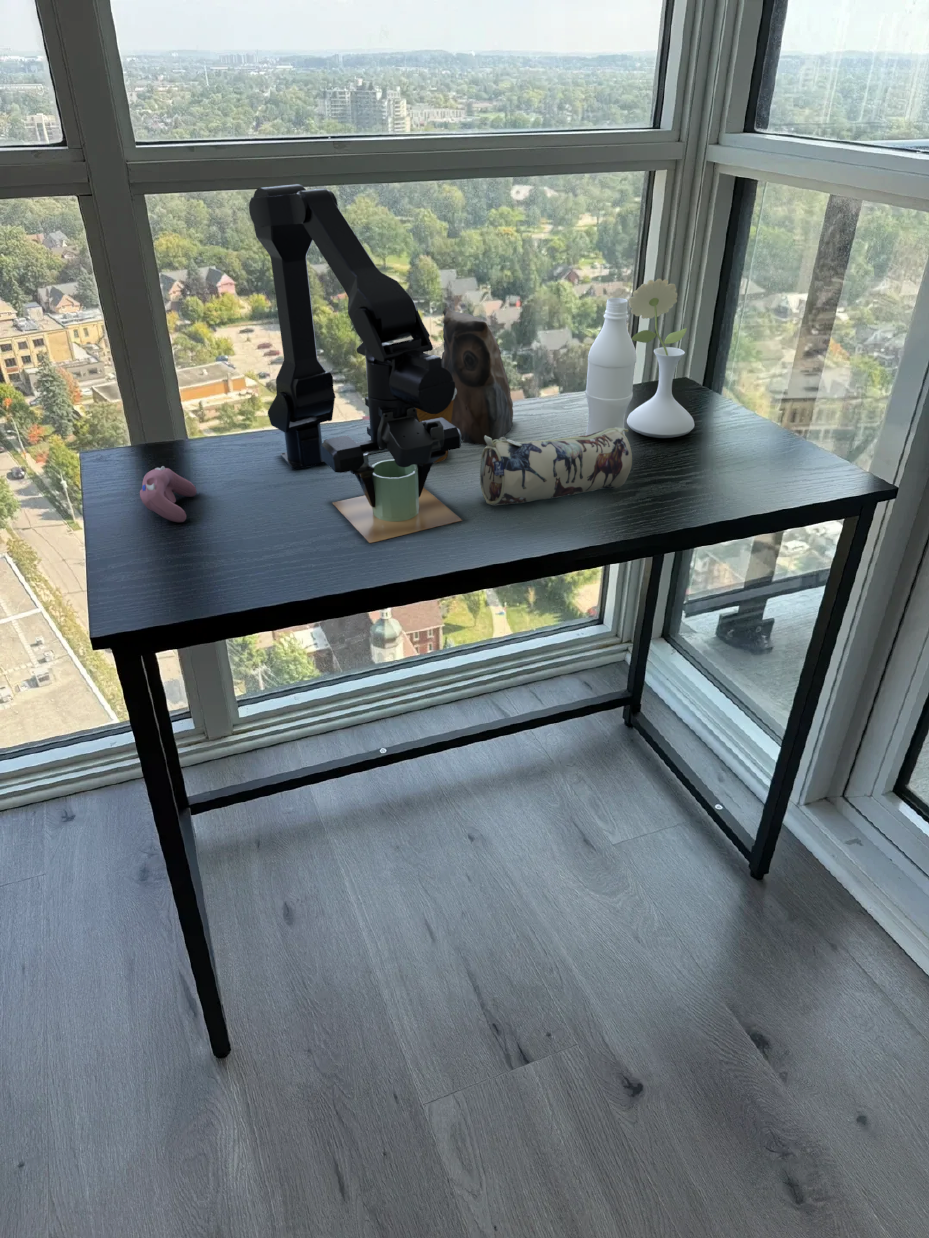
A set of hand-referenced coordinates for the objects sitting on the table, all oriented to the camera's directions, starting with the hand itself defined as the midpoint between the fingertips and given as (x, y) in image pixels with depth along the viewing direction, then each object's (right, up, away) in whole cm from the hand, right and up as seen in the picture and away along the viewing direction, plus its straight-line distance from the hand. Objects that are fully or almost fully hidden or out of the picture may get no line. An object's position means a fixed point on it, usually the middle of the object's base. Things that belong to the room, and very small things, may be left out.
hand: (395, 501), depth 122 cm
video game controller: (-32, -1, +2) cm, 32 cm away
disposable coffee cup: (+4, +10, +18) cm, 21 cm away
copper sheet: (0, -1, +1) cm, 2 cm away
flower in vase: (+43, +15, +27) cm, 52 cm away
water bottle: (+32, +8, +15) cm, 36 cm away
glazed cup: (0, -1, +1) cm, 2 cm away
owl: (+13, +15, +27) cm, 33 cm away
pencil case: (+23, +2, +6) cm, 24 cm away
